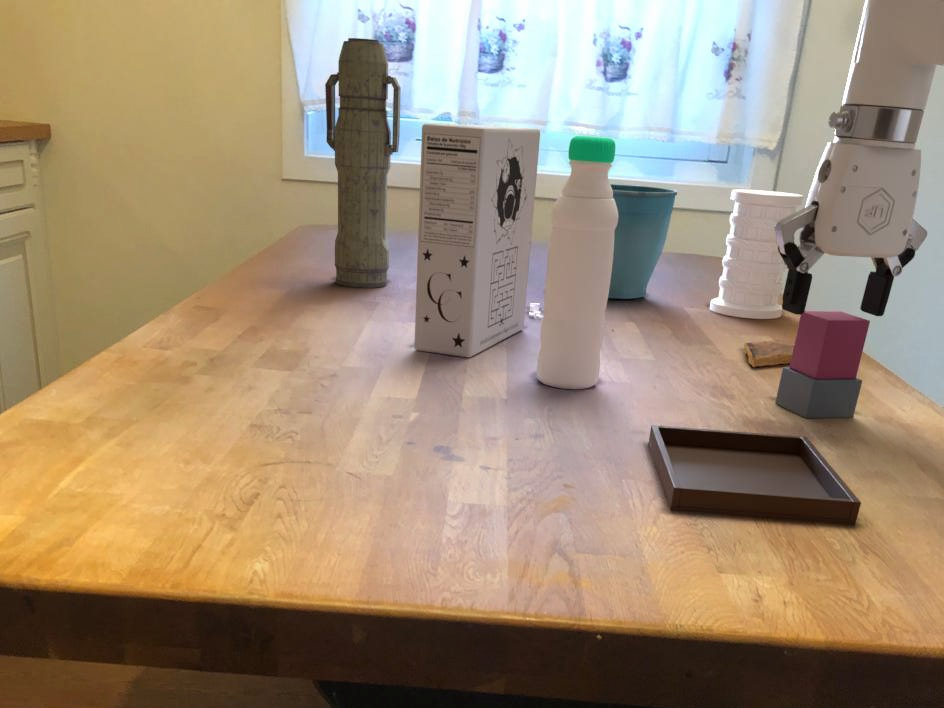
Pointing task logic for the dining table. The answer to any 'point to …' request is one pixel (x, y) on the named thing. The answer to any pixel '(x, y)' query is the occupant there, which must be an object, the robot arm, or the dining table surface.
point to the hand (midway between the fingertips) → (832, 312)
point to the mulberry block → (829, 345)
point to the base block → (817, 395)
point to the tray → (749, 476)
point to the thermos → (362, 160)
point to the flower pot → (638, 237)
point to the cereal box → (473, 235)
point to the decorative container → (754, 255)
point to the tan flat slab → (769, 353)
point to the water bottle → (579, 268)
